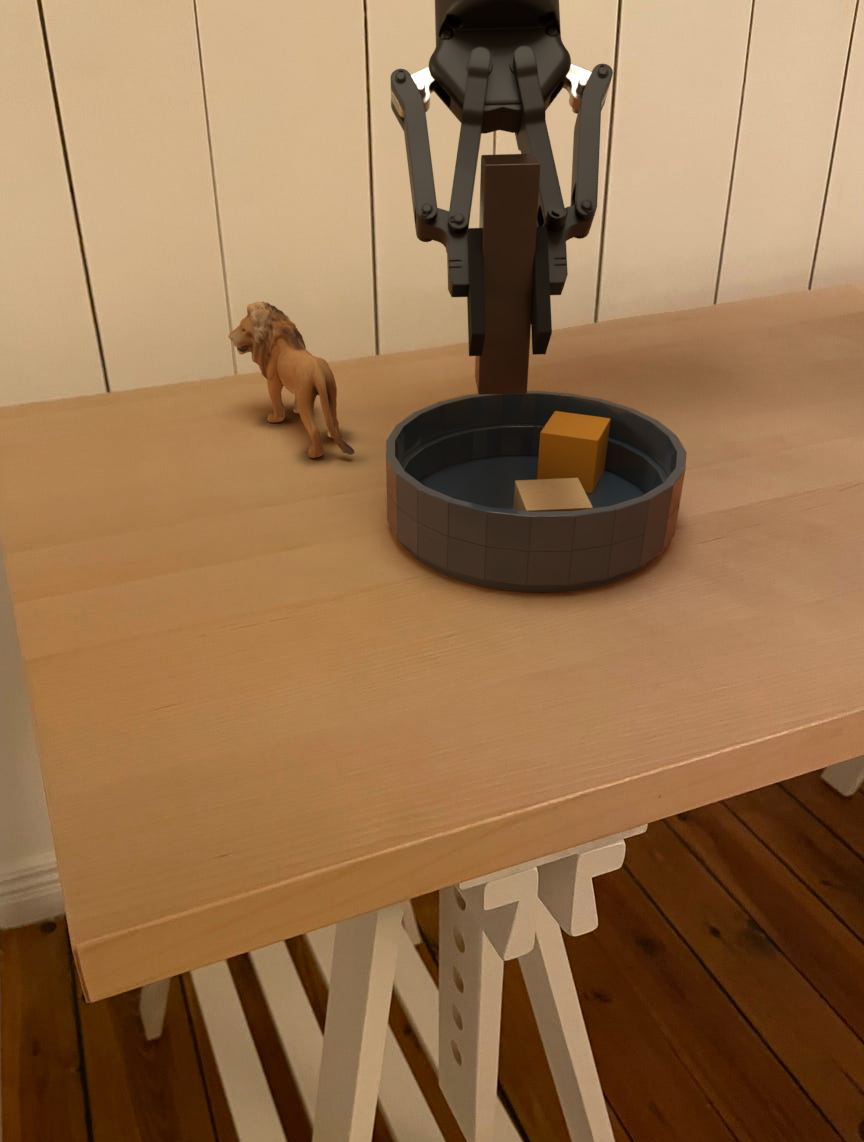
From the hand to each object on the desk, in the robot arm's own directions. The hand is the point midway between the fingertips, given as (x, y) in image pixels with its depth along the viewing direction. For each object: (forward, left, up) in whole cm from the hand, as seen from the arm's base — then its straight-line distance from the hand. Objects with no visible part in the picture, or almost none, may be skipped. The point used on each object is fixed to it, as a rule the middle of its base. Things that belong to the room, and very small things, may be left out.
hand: (509, 343), depth 58 cm
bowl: (-2, -4, -14) cm, 14 cm away
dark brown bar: (0, -4, -4) cm, 6 cm away
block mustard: (-6, -9, -13) cm, 17 cm away
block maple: (-3, +2, -13) cm, 13 cm away
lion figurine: (+15, -20, -14) cm, 28 cm away
